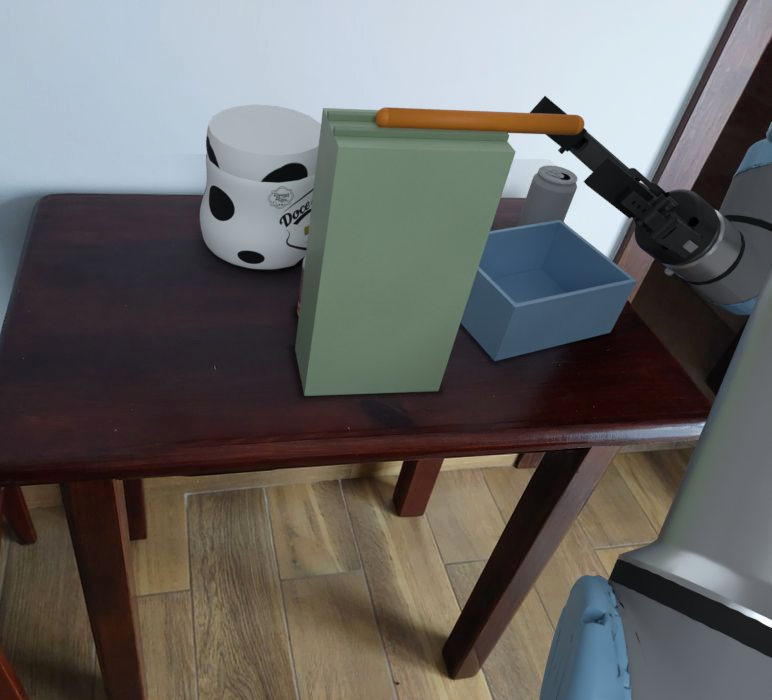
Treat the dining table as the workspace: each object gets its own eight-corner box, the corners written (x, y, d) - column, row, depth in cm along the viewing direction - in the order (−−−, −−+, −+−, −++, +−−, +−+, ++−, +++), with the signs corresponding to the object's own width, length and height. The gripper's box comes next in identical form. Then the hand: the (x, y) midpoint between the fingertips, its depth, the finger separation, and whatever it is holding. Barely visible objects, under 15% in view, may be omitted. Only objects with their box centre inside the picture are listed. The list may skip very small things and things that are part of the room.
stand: (420, 346, 85) (487, 107, 65) (438, 391, 79) (518, 145, 59) (294, 349, 82) (323, 101, 62) (304, 396, 76) (339, 139, 56)
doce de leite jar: (328, 282, 93) (346, 161, 81) (201, 282, 90) (200, 157, 78) (310, 216, 106) (323, 103, 94) (198, 215, 103) (197, 98, 91)
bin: (610, 332, 91) (637, 281, 85) (494, 361, 84) (515, 307, 79) (540, 269, 101) (560, 219, 95) (431, 290, 94) (446, 238, 89)
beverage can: (550, 259, 104) (579, 188, 96) (509, 247, 105) (533, 177, 97) (554, 239, 108) (582, 170, 100) (514, 228, 109) (538, 159, 101)
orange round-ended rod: (575, 130, 64) (582, 111, 63) (583, 138, 63) (590, 120, 62) (371, 123, 61) (375, 103, 60) (376, 131, 60) (379, 112, 58)
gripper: (722, 332, 67) (592, 238, 56) (605, 203, 85) (491, 115, 75) (793, 278, 63) (668, 168, 53) (654, 155, 81) (542, 56, 71)
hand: (564, 137), depth 64 cm, fingers open, 13 cm apart
